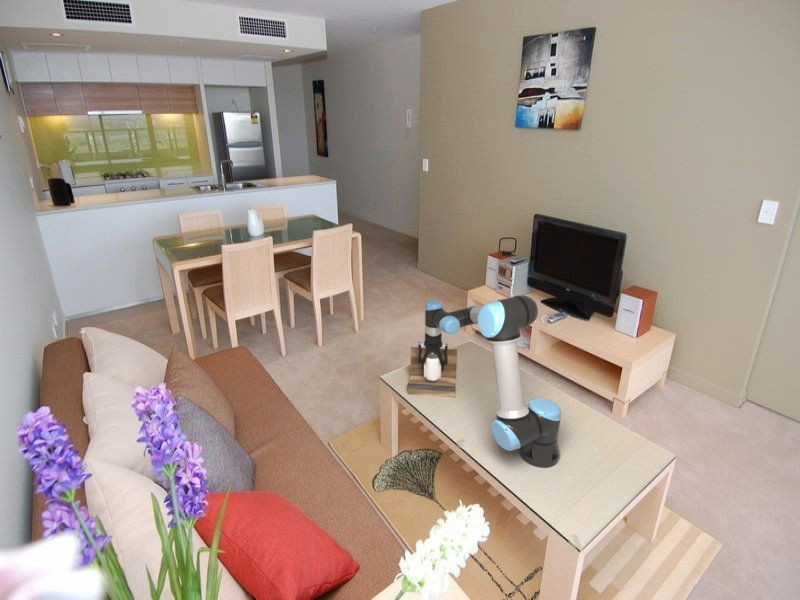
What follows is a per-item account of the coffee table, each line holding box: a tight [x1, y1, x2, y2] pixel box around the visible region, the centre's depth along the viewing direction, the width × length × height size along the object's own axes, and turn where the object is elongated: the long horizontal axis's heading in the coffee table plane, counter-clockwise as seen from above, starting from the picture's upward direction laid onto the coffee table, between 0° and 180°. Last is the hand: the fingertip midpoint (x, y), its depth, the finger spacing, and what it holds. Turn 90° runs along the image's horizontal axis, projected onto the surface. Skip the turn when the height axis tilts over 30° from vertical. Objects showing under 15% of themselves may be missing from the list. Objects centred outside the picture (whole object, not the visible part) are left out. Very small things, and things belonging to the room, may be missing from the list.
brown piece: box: [407, 346, 458, 398], centre depth 218 cm, size 13×22×18 cm, turn 83°
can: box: [426, 353, 440, 381], centre depth 216 cm, size 6×6×12 cm
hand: (432, 375), depth 218 cm, fingers closed on can, 6 cm apart
